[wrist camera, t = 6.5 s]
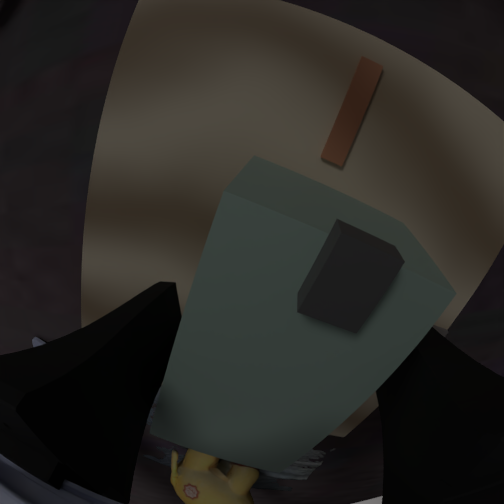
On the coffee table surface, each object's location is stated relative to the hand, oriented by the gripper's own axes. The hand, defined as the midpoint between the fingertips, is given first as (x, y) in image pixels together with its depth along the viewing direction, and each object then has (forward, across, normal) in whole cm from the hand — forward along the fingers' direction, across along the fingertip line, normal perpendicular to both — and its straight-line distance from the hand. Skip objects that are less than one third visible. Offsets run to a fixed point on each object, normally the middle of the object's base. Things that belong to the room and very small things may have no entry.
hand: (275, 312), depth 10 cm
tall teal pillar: (0, 0, 0) cm, 0 cm away
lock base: (+4, 0, 0) cm, 4 cm away
